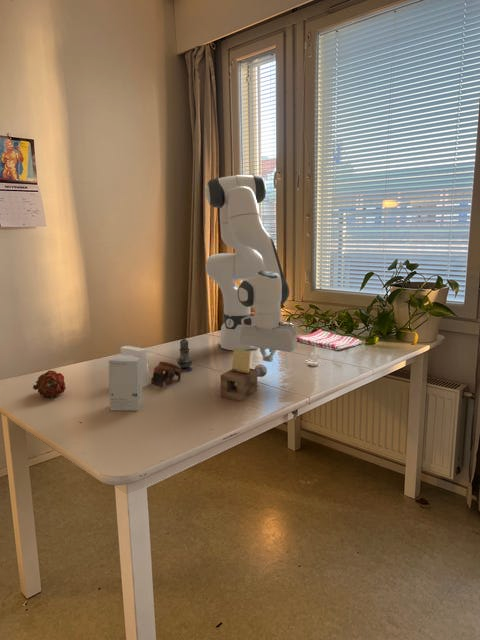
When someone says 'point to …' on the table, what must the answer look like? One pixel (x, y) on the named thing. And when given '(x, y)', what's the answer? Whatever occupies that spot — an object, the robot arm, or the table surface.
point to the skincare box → (125, 383)
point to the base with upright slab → (144, 366)
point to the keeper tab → (241, 361)
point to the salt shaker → (184, 356)
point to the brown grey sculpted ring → (168, 376)
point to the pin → (260, 373)
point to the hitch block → (238, 384)
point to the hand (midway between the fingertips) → (267, 360)
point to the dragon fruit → (50, 384)
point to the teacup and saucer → (314, 359)
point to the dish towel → (328, 340)
